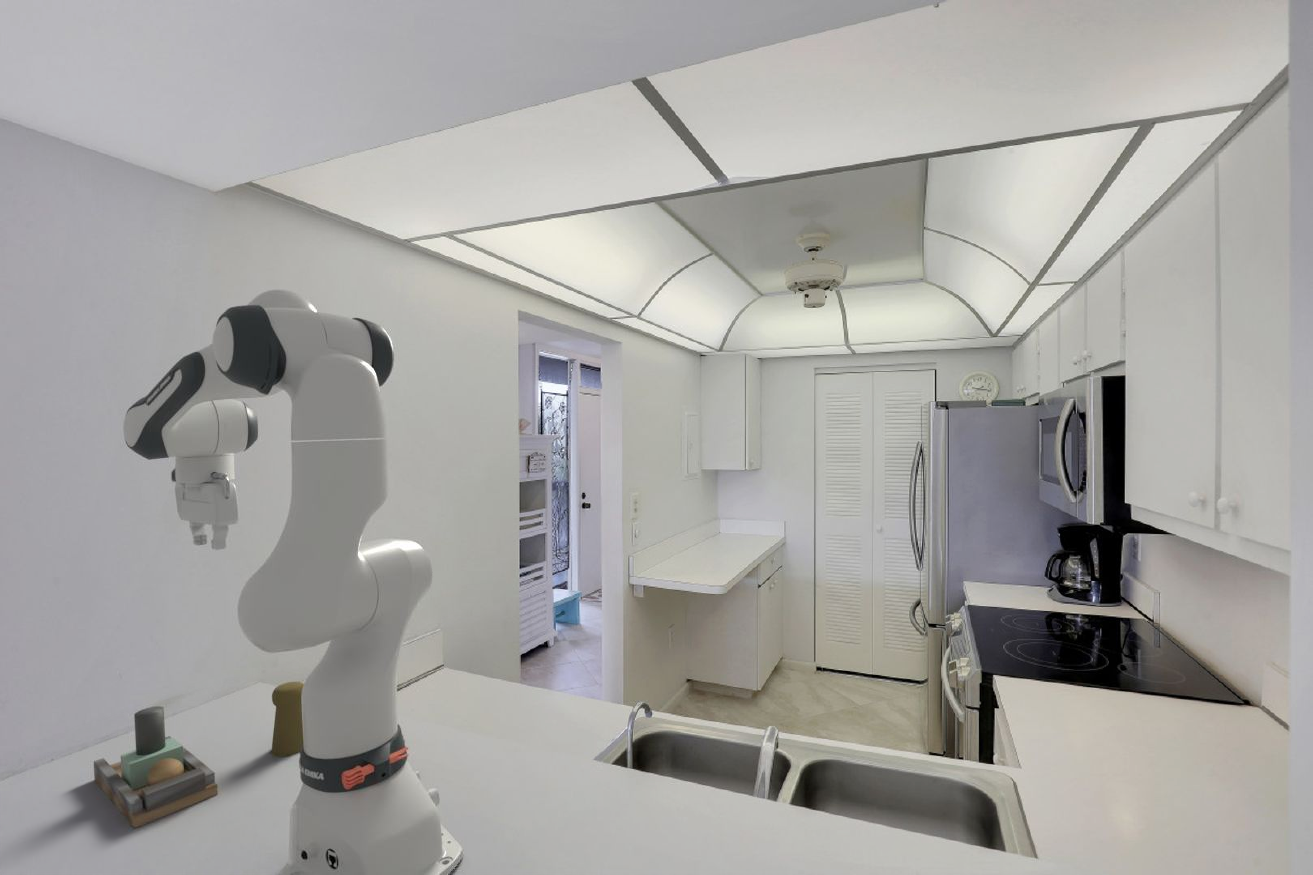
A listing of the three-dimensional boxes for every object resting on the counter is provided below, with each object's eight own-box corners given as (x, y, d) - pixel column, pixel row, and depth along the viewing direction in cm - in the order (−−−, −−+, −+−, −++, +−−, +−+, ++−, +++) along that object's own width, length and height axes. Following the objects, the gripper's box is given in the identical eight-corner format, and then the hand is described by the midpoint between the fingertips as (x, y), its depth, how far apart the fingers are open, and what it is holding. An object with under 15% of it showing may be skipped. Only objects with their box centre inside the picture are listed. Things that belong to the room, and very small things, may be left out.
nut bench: (217, 793, 96) (216, 767, 96) (134, 828, 88) (133, 799, 88) (170, 753, 109) (169, 730, 109) (94, 779, 101) (93, 754, 101)
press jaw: (183, 770, 100) (181, 708, 100) (131, 790, 95) (127, 724, 95) (173, 761, 103) (170, 700, 103) (121, 780, 98) (118, 716, 98)
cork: (293, 757, 106) (290, 692, 106) (262, 754, 108) (259, 690, 108) (319, 739, 112) (316, 678, 112) (289, 737, 114) (287, 676, 113)
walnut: (188, 786, 96) (187, 757, 96) (152, 800, 92) (151, 770, 92) (179, 777, 98) (177, 749, 98) (143, 791, 95) (142, 762, 95)
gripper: (247, 471, 113) (251, 548, 113) (206, 470, 126) (209, 539, 126) (206, 474, 108) (209, 555, 108) (167, 472, 121) (170, 545, 121)
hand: (209, 546), depth 117 cm, fingers open, 8 cm apart
